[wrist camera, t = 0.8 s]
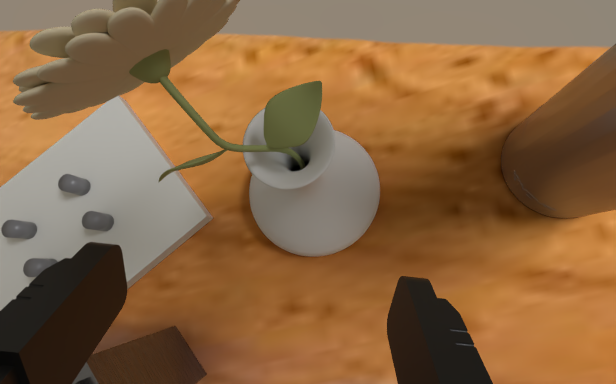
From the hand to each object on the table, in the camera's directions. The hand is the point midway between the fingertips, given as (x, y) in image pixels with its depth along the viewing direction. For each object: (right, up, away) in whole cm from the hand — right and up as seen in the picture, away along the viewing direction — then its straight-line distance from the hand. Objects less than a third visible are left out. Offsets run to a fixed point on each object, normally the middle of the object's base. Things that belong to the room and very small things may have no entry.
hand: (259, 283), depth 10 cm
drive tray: (-21, -1, +24) cm, 32 cm away
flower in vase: (+1, +2, +22) cm, 22 cm away
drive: (-10, -12, +21) cm, 26 cm away
